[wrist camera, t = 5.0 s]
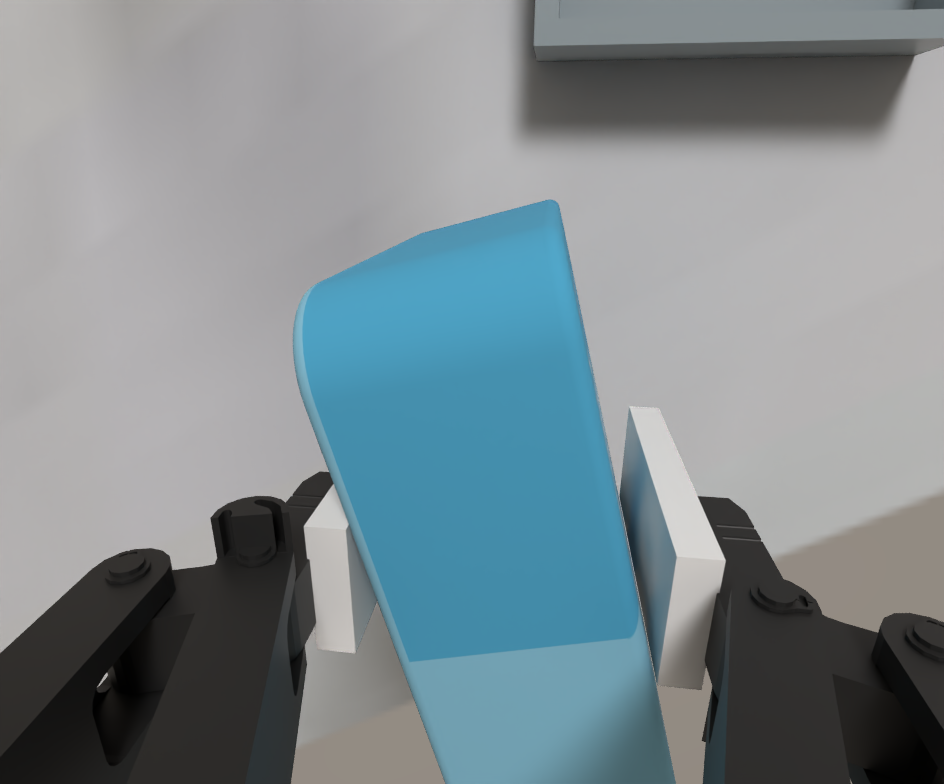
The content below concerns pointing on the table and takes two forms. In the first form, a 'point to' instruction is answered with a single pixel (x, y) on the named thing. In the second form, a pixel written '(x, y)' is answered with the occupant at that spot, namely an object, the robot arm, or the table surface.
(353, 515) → the data package
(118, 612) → the robot arm
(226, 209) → the table surface
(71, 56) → the table surface
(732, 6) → the tray
